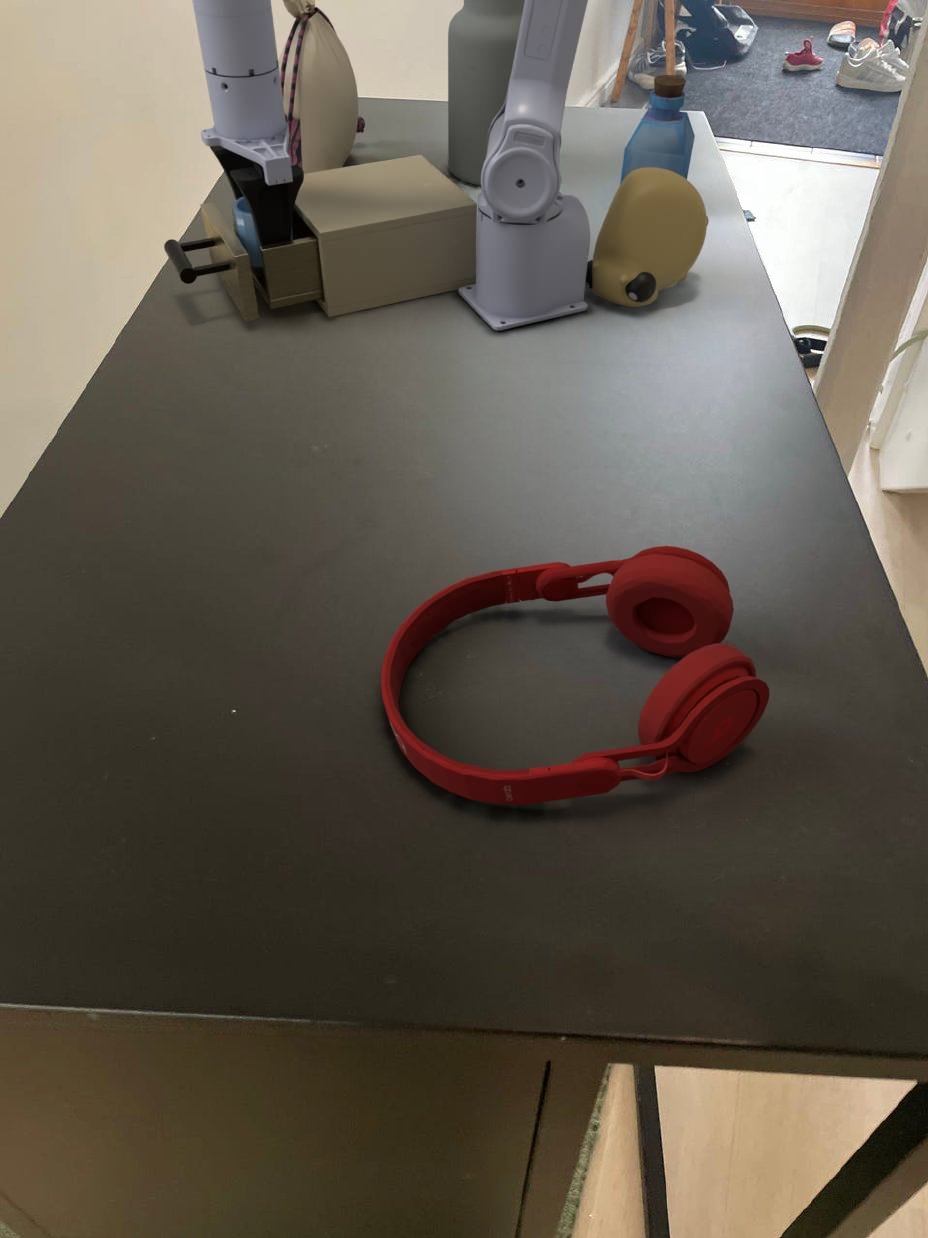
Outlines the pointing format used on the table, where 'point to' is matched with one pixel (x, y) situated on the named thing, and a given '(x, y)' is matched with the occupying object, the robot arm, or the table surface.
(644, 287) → the tan rounded piece
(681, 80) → the blue corked bottle
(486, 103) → the water bottle
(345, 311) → the wooden drawer box
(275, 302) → the drawer
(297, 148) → the pouch
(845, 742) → the table surface
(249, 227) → the cup
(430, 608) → the headphones
